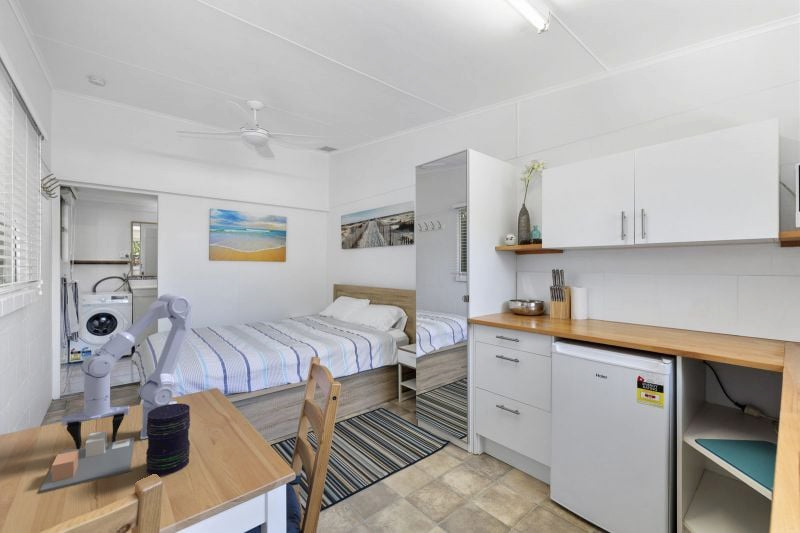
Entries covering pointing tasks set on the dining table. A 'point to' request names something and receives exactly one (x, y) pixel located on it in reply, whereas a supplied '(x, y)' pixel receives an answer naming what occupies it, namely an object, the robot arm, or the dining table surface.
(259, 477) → the dining table surface
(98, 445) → the off-white brick
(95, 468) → the baseplate
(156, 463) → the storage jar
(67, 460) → the terracotta brick
